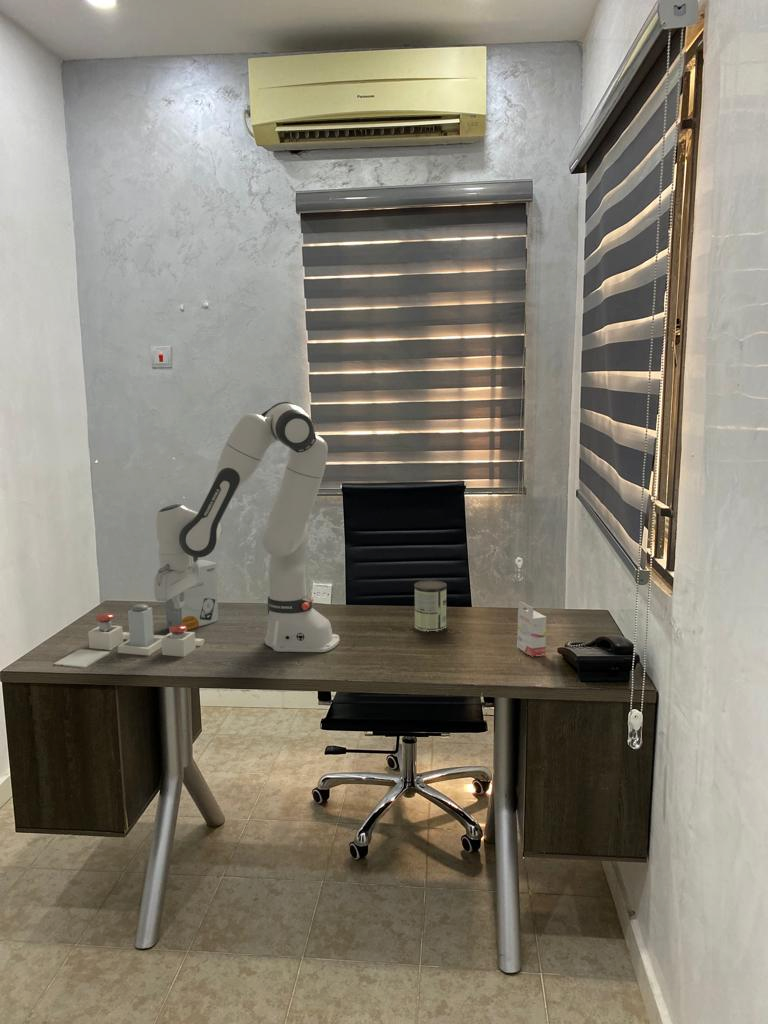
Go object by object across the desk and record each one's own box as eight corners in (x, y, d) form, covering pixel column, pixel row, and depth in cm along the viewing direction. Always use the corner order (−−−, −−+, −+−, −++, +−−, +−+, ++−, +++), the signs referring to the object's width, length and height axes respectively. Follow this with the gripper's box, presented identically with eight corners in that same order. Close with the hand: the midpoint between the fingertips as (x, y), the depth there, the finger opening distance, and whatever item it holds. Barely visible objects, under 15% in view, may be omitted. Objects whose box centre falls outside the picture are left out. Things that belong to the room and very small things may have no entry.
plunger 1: (118, 635, 243) (116, 613, 242) (108, 641, 238) (107, 618, 237) (103, 634, 244) (102, 612, 243) (93, 639, 240) (92, 617, 238)
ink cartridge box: (546, 656, 231) (548, 606, 229) (531, 658, 230) (533, 608, 227) (530, 646, 239) (532, 598, 237) (516, 648, 237) (517, 600, 235)
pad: (109, 653, 235) (109, 651, 235) (85, 667, 223) (85, 666, 223) (79, 650, 237) (79, 649, 237) (53, 664, 226) (53, 663, 226)
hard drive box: (181, 633, 252) (178, 571, 249) (165, 628, 257) (162, 567, 253) (219, 620, 265) (216, 561, 261) (203, 616, 269) (201, 558, 266)
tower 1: (123, 642, 244) (122, 626, 243) (110, 649, 238) (109, 633, 237) (103, 640, 246) (102, 624, 245) (89, 647, 239) (88, 631, 238)
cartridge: (154, 646, 241) (152, 604, 238) (145, 651, 236) (143, 609, 233) (139, 644, 242) (136, 603, 239) (130, 650, 237) (127, 608, 235)
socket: (204, 643, 243) (203, 637, 242) (183, 658, 230) (182, 652, 230) (110, 635, 250) (109, 629, 250) (84, 649, 238) (84, 643, 238)
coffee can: (413, 621, 263) (414, 580, 260) (445, 621, 263) (445, 580, 260) (414, 632, 253) (414, 588, 250) (447, 632, 252) (447, 588, 250)
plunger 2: (190, 647, 238) (189, 624, 236) (182, 653, 233) (181, 630, 232) (175, 646, 239) (174, 623, 238) (167, 652, 234) (165, 628, 233)
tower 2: (195, 648, 238) (194, 632, 237) (184, 656, 232) (183, 640, 231) (174, 646, 240) (173, 630, 239) (162, 654, 233) (161, 638, 232)
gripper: (166, 570, 221) (171, 618, 223) (201, 553, 240) (205, 597, 242) (146, 569, 222) (151, 618, 225) (182, 552, 242) (186, 597, 244)
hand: (179, 607), depth 234 cm, fingers closed
